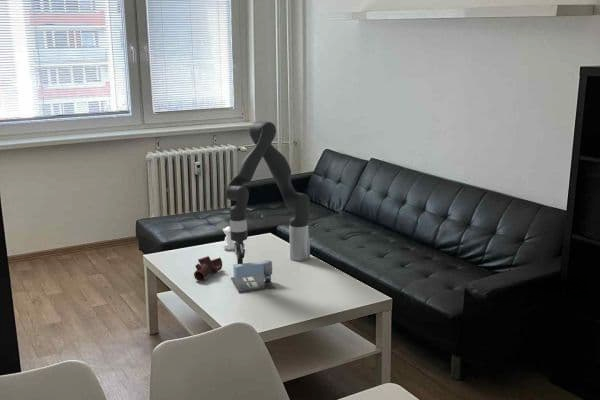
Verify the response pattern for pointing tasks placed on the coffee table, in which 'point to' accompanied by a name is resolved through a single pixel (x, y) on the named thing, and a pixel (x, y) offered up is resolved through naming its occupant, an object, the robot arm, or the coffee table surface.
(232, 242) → the sitting furry creature
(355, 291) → the coffee table surface
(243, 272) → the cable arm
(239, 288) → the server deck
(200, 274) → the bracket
